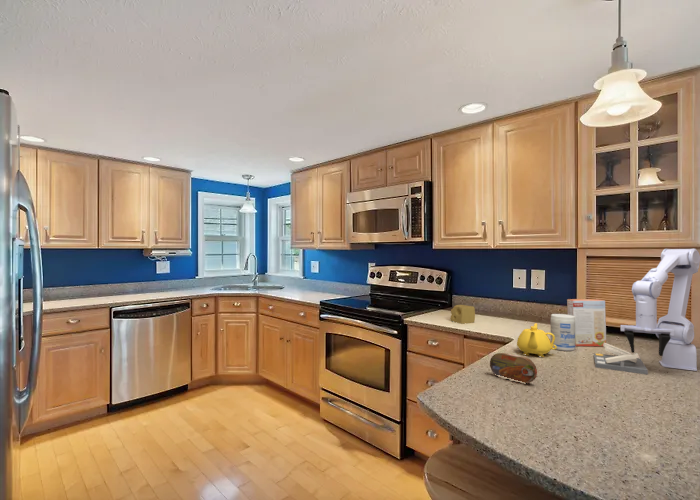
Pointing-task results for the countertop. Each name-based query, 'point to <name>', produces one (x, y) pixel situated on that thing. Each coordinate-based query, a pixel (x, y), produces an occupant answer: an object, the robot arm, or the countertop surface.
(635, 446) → the countertop surface
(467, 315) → the cheese
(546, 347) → the teapot
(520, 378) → the tin
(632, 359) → the rocker middle
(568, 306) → the cracker box
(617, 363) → the switch base
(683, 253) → the robot arm
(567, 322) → the supplement tub
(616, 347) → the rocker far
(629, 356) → the rocker near
